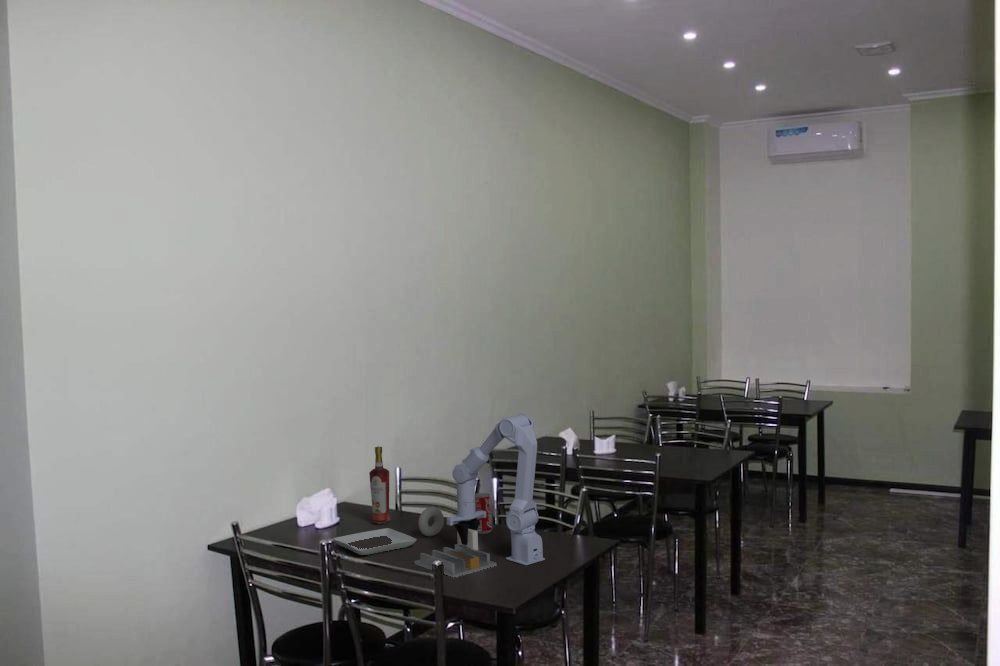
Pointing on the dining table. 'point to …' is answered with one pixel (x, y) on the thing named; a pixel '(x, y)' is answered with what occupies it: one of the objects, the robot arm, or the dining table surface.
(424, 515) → the donut
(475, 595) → the dining table surface
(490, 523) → the soda can
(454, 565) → the rack
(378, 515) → the liquor
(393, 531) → the salad plate
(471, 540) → the panel
